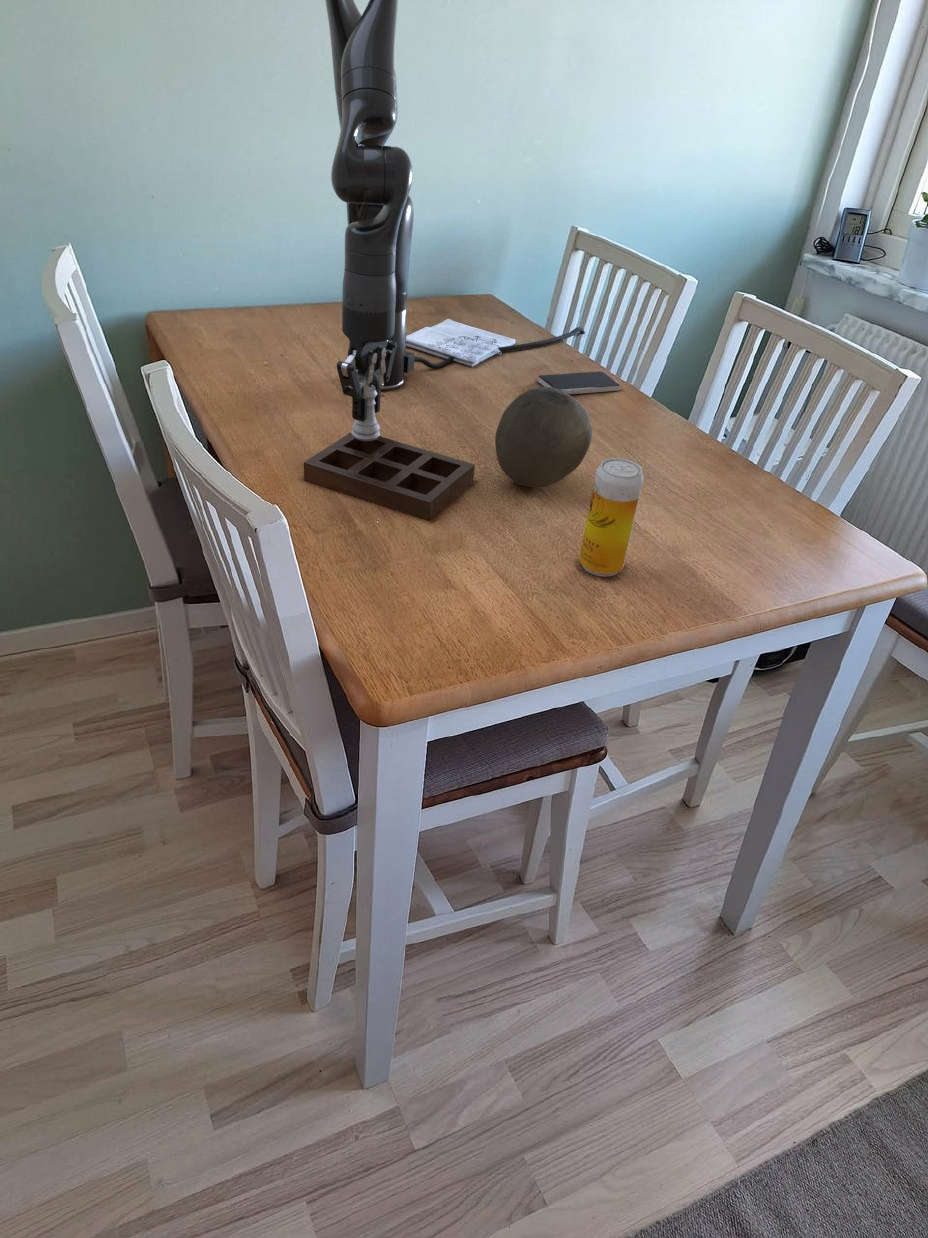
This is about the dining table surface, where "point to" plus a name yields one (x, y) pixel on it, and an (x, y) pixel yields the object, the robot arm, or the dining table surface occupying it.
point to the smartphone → (580, 382)
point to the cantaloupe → (542, 437)
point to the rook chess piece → (367, 420)
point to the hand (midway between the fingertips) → (366, 414)
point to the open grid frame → (390, 474)
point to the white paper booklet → (458, 342)
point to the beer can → (611, 516)
